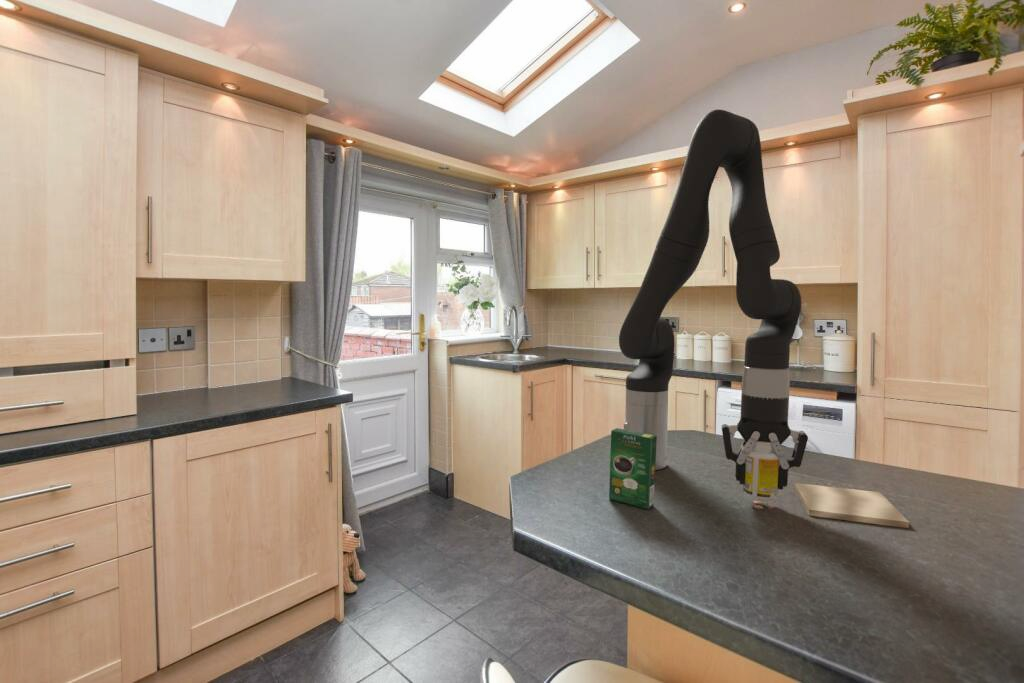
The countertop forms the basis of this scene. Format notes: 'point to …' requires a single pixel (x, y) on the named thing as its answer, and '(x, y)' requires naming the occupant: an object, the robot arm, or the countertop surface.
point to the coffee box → (632, 468)
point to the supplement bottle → (761, 472)
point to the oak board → (849, 505)
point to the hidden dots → (761, 506)
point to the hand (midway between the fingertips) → (760, 485)
